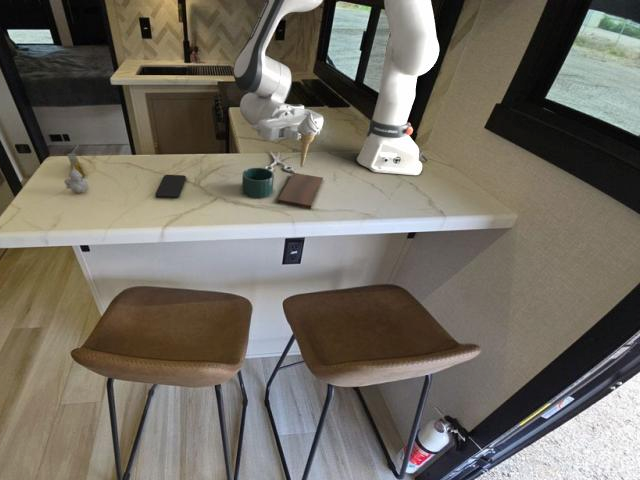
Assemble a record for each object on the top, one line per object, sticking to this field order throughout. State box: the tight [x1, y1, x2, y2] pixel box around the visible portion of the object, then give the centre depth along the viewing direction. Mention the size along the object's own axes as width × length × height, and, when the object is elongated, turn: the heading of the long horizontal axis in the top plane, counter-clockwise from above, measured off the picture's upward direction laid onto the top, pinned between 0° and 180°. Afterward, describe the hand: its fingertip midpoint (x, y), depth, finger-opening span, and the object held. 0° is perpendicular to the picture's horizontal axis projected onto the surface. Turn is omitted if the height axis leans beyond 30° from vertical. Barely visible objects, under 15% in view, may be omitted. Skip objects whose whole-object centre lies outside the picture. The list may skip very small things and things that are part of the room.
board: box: [277, 172, 324, 210], centre depth 106 cm, size 10×20×1 cm, turn 160°
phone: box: [154, 174, 187, 199], centre depth 107 cm, size 7×1×15 cm
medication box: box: [67, 152, 86, 177], centre depth 113 cm, size 12×3×4 cm, turn 28°
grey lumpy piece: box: [63, 166, 89, 194], centre depth 101 cm, size 5×7×8 cm
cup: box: [241, 167, 275, 199], centre depth 104 cm, size 10×10×6 cm
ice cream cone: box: [297, 109, 318, 168], centre depth 93 cm, size 6×6×15 cm
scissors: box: [264, 150, 297, 174], centre depth 122 cm, size 11×1×20 cm
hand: (309, 134), depth 92 cm, fingers closed on ice cream cone, 5 cm apart
